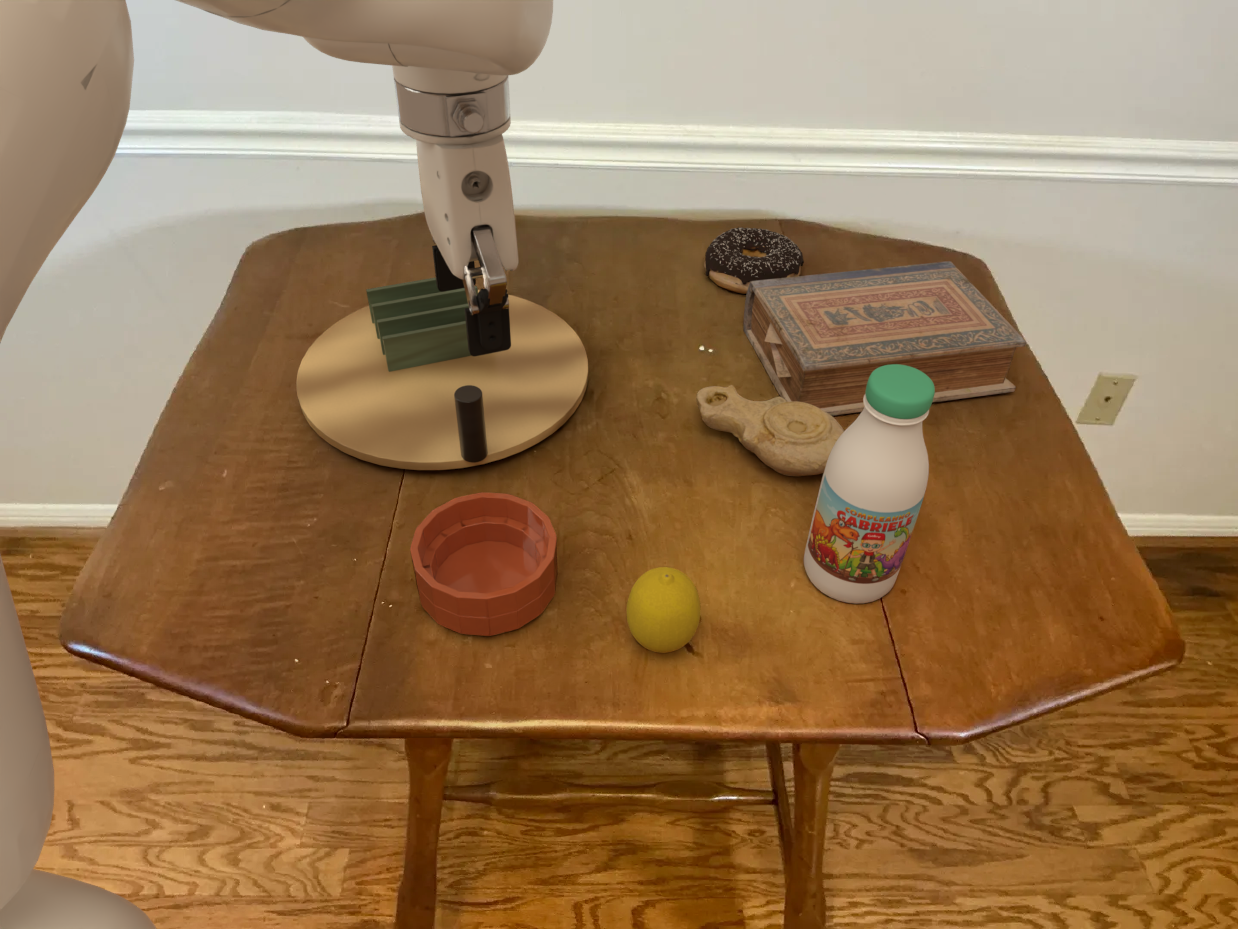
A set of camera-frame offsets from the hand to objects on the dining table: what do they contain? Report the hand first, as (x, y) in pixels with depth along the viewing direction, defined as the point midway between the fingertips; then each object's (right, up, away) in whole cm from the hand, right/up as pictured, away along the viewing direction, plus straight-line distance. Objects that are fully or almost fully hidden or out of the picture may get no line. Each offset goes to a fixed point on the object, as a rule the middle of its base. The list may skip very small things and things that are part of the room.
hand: (472, 317), depth 75 cm
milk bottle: (+31, -21, +4) cm, 37 cm away
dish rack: (-6, -3, +21) cm, 22 cm away
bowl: (+1, -21, +2) cm, 22 cm away
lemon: (+15, -26, -2) cm, 30 cm away
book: (+38, -1, +27) cm, 47 cm away
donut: (+28, +11, +39) cm, 49 cm away
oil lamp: (+26, -11, +15) cm, 32 cm away
